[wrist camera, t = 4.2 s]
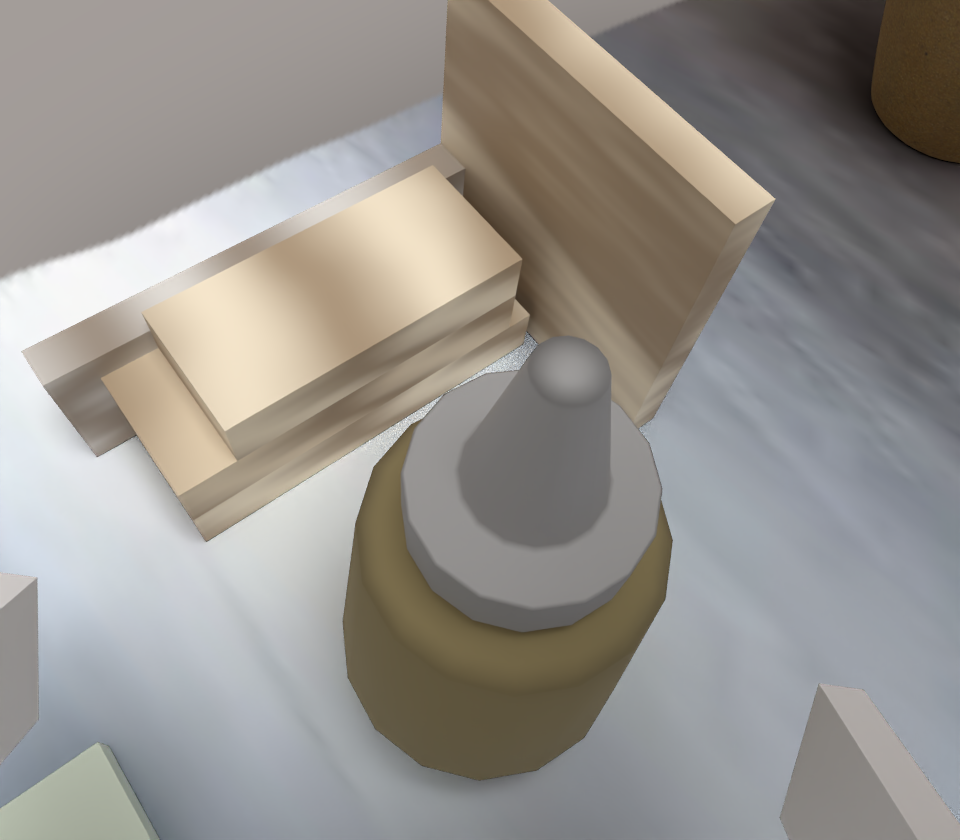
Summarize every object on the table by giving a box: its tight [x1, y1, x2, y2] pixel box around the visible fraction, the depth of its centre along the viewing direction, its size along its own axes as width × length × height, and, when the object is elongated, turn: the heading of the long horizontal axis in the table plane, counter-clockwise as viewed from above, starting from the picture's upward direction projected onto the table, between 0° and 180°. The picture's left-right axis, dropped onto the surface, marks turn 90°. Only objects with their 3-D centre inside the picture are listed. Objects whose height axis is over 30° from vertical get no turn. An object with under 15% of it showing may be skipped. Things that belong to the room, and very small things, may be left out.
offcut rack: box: [21, 0, 775, 542], centre depth 26 cm, size 18×12×12 cm
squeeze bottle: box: [343, 335, 673, 780], centre depth 19 cm, size 8×8×18 cm
